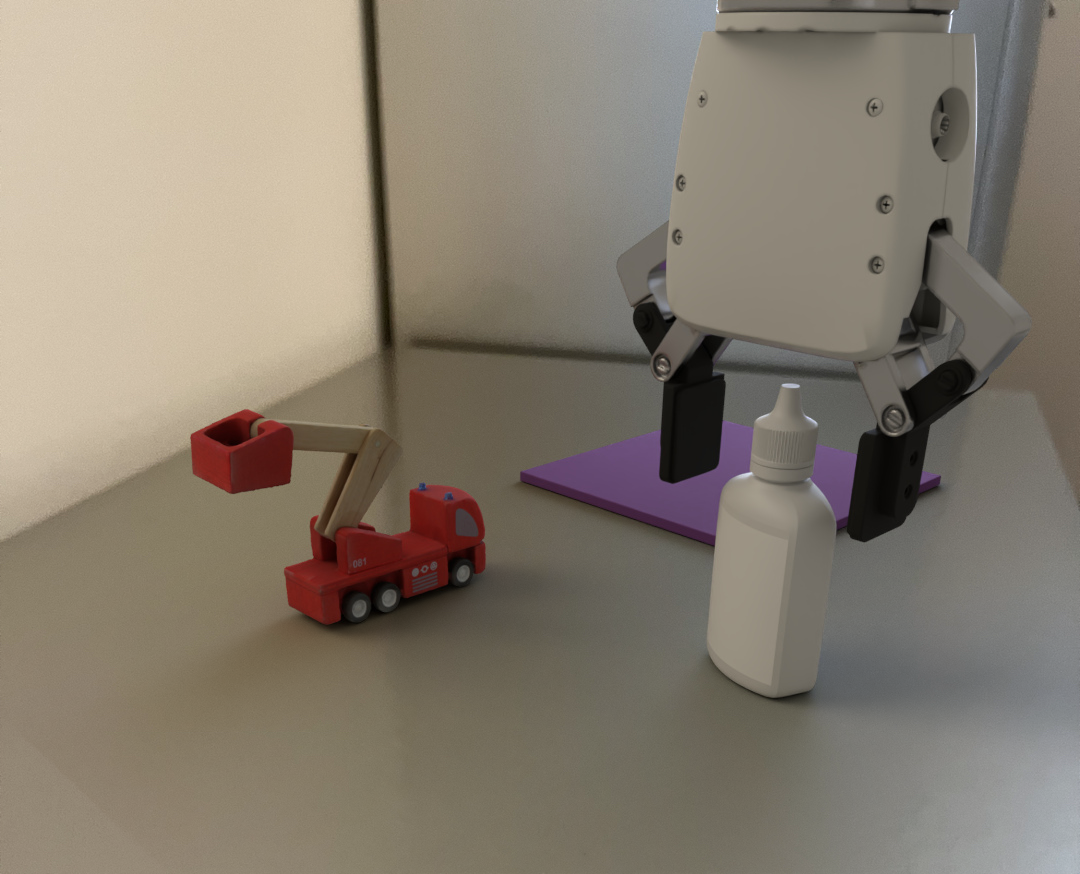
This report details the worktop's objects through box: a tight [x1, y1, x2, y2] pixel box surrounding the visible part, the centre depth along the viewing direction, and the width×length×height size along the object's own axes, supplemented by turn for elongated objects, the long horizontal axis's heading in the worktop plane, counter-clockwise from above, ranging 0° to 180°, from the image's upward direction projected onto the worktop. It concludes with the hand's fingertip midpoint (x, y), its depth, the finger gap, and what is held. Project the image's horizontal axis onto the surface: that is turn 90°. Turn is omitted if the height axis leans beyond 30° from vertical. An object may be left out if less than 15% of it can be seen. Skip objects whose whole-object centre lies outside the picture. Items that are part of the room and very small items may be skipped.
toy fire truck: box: [189, 408, 487, 626], centre depth 54 cm, size 3×14×10 cm, turn 133°
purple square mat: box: [519, 419, 942, 547], centre depth 72 cm, size 18×18×1 cm
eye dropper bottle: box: [706, 382, 837, 699], centre depth 48 cm, size 4×6×12 cm
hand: (777, 500), depth 47 cm, fingers open, 8 cm apart
